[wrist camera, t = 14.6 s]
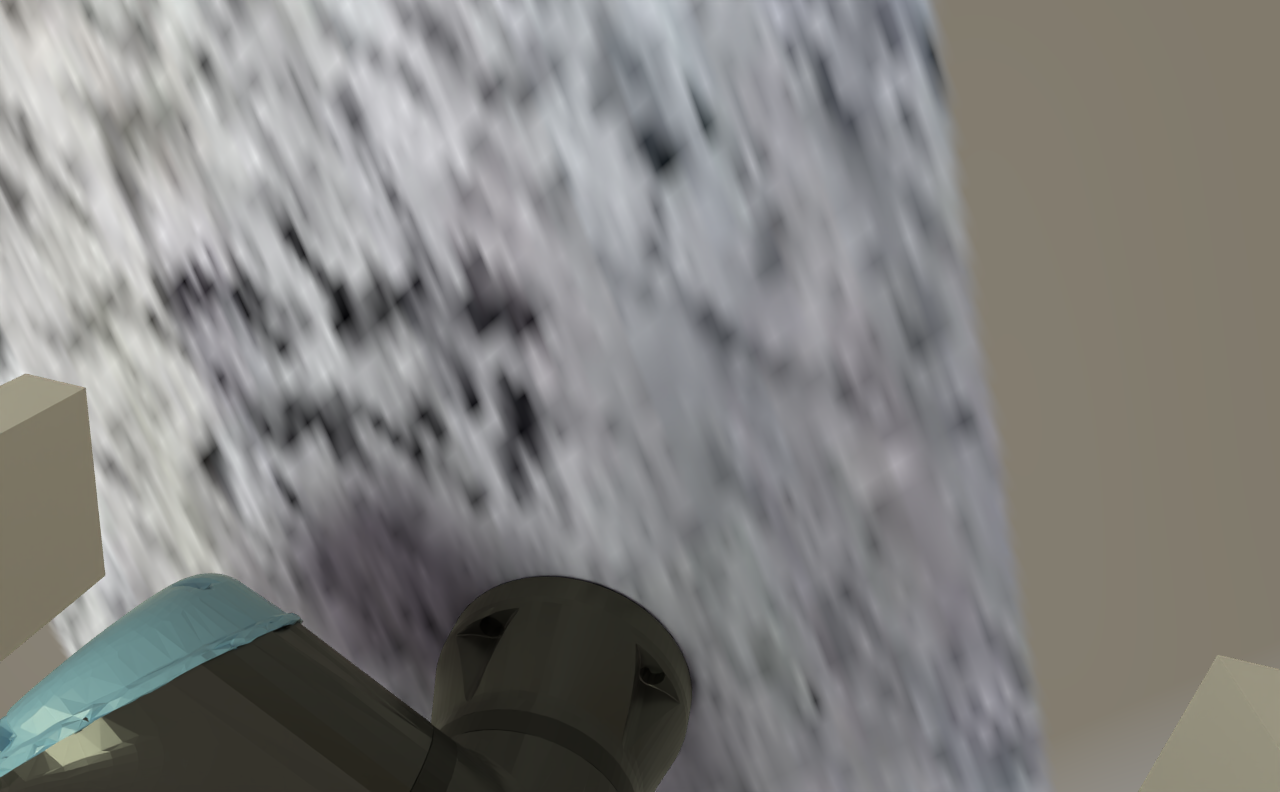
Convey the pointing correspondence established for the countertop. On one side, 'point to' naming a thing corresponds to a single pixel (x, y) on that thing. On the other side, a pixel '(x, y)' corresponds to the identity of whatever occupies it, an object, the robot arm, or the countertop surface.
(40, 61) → the countertop surface
